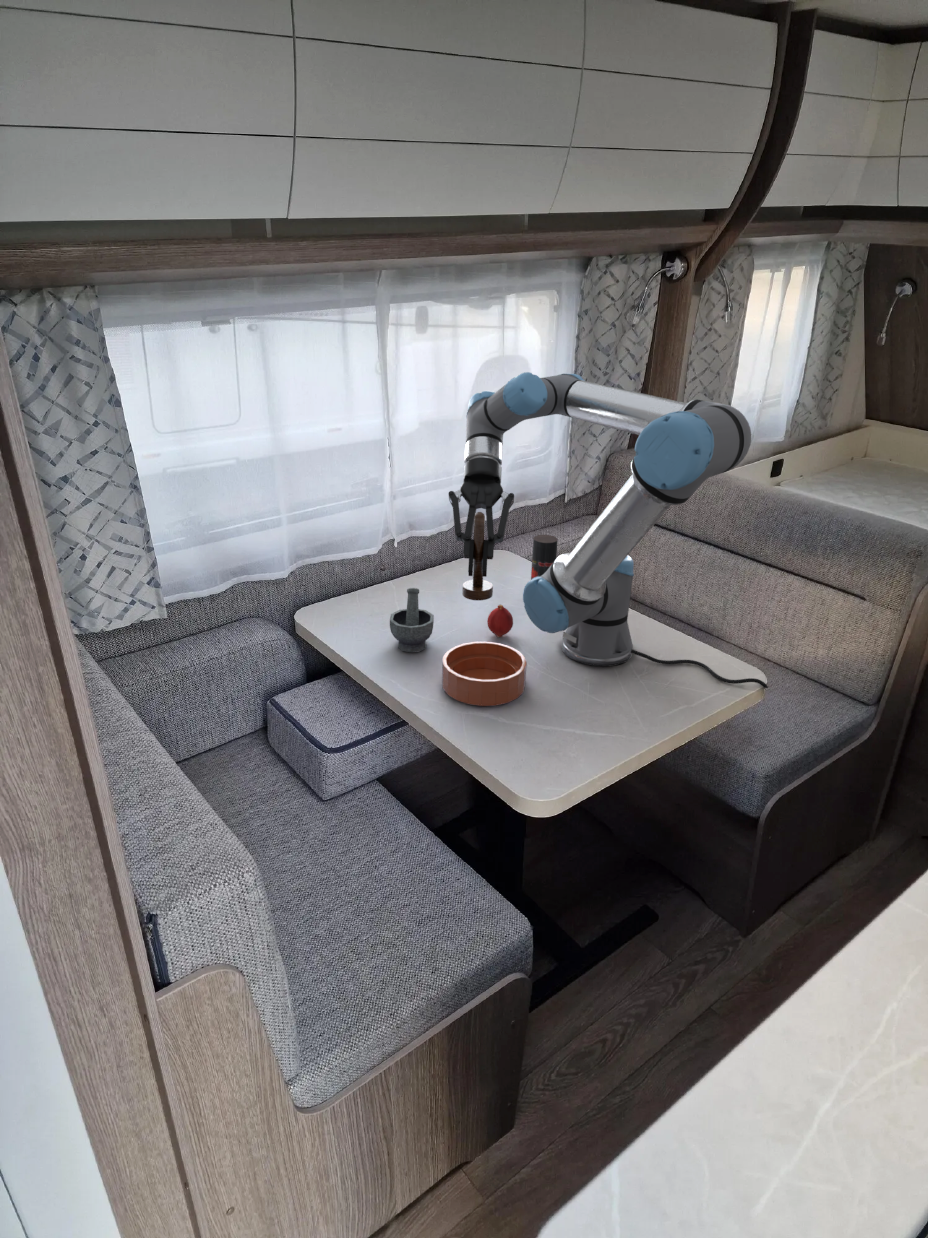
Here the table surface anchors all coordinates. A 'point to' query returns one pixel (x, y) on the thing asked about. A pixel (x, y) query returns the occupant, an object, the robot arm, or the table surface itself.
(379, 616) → the table surface
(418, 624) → the mortar and pestle
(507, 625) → the onion
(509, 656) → the bowl
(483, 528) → the wooden peg stand
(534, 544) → the deodorant
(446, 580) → the table surface
